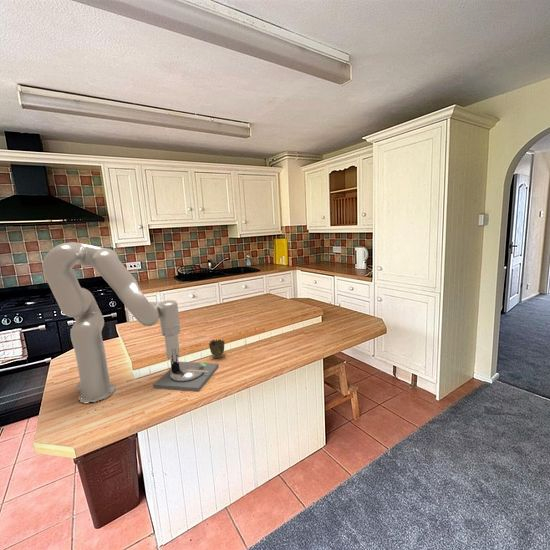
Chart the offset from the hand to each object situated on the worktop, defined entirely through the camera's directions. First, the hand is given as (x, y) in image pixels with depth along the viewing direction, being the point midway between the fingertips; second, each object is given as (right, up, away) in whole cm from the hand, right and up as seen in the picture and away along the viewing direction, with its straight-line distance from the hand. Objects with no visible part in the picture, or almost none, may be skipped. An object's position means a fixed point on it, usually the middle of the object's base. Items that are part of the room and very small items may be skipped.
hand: (175, 369), depth 127 cm
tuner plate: (+6, -3, -1) cm, 6 cm away
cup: (+15, 0, +16) cm, 22 cm away
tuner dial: (+7, -1, -1) cm, 7 cm away
